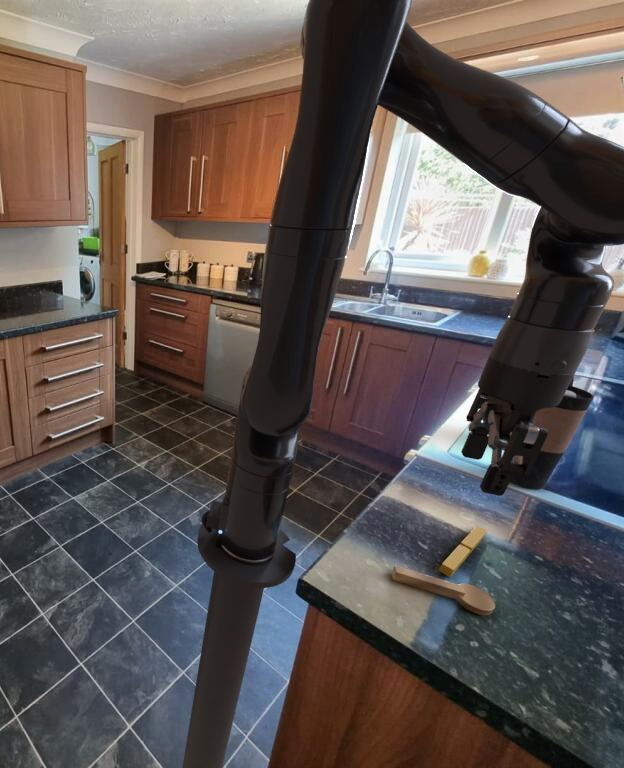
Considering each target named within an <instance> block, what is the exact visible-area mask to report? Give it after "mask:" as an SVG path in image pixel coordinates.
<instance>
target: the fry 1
mask: <svg viewBox="0 0 624 768" xmlns="http://www.w3.org/2000/svg"><path fill="white" fill-rule="evenodd" d="M460 544H461V543H460ZM460 544H458V545H457V546H456V548H454V550H453V551H452V552H451V553H450V554H449V555H448V556H447V557H446V559H445V560H444V561H443V562H442V563H441V565H440V567H439V569H438V572H440V573H442V574H443V575H445V576H447V577H449V578H451V577H452V576H453V575H454V573H456V571H457V570H458V569H459V568H460V566H461V565H462V564H463V563H464V562H465V561H466V560H467V558H468V557H469V556H470V555H469V553H470V551H471V550H470V549H468V548H466V547H464V546H462V545H460ZM470 554H471V553H470Z"/></svg>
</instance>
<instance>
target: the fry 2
mask: <svg viewBox="0 0 624 768" xmlns="http://www.w3.org/2000/svg"><path fill="white" fill-rule="evenodd" d="M487 533H488V530H487V529H485V528H483V527H482V526H479V525H475V527H474V528H472V530H471V531H470V532H469V533H468V534H467V535H466V537H464V539H463V540H462V541H461V542H460V545H462V546H464V547H466V548H468V549H470V550H471V551H470V553H469V555H468V556H470V555H471V553H472V552H473V551H474V550H475V549H476V548H477V547H478V545H479V544H480V543H481V542H482V540H483V539H485V537H486V535H487Z"/></svg>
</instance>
